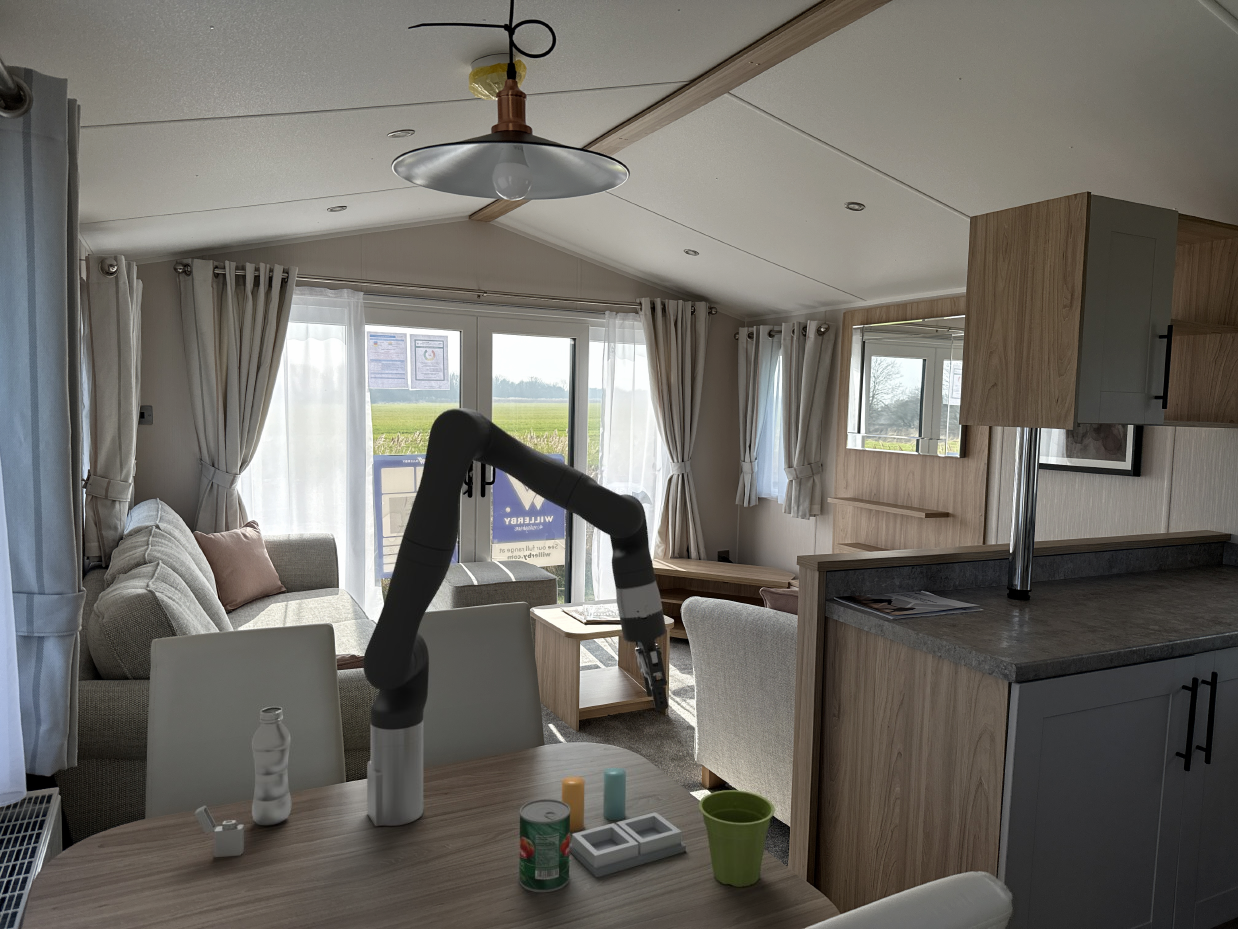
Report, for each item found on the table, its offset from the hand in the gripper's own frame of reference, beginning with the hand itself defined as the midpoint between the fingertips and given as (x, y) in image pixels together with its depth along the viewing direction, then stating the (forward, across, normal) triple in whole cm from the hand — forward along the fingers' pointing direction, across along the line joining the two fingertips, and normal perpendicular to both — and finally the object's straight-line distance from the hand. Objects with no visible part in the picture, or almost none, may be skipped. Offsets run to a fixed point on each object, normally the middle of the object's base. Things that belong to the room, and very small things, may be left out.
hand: (657, 702), depth 143 cm
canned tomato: (+20, +11, -24) cm, 33 cm away
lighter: (+10, -2, -75) cm, 76 cm away
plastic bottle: (+10, -13, -70) cm, 72 cm away
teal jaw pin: (+21, -9, -10) cm, 26 cm away
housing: (+22, +3, -10) cm, 24 cm away
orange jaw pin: (+20, -6, -18) cm, 28 cm away
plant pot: (+26, +13, +6) cm, 29 cm away
